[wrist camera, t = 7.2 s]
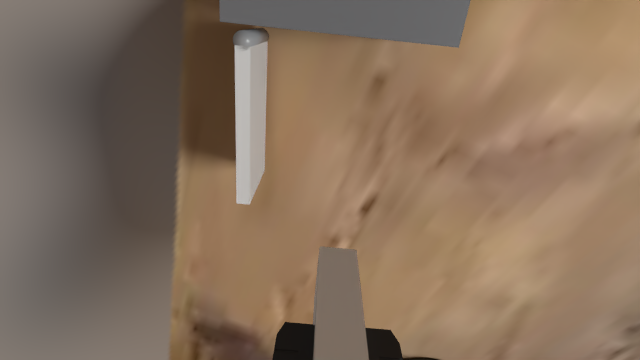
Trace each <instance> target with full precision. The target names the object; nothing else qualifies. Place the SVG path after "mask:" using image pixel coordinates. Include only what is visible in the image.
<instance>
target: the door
mask: <svg viewBox="0 0 640 360" xmlns="http://www.w3.org/2000/svg"><path fill="white" fill-rule="evenodd" d="M268 39H269V34H268V32H267V31H266V30H265V29H264V28H256V29H248V30H240V31H237V32H236V33H235V34H234V36H233V43H234V45H235V115H236V193H237V203H239V204H250V202H251V200H252V198H253V196H254V193H255V191H256V189H257V187H258V184H259V182H260V180H261V177H262V175H263V173H264V169H265V128H266V86H267V44H268Z"/></svg>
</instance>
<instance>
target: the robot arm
mask: <svg viewBox="0 0 640 360" xmlns="http://www.w3.org/2000/svg"><path fill="white" fill-rule="evenodd" d="M273 360H403V358H402V353H401V348H400V344H399V342H398V341H397V339H396V338H395V336H394V335H393V333H392V332H391V330H384V329H372V328H365V321H364V313H363V304H362V295H361V286H360V278H359V269H358V260H357V251H356V250H354V249H342V248H330V247H320V248H319V258H318V268H317V278H316V288H315V298H314V315H313V324H301V323H289V322H285V323H284V325H283V326H282V328H281V329H280V331H279V332H278V333H277V337H276V342H275V348H274V354H273ZM410 360H433V359H410Z"/></svg>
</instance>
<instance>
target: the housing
mask: <svg viewBox="0 0 640 360" xmlns="http://www.w3.org/2000/svg"><path fill="white" fill-rule="evenodd" d="M469 4H470V0H219V5H220V22H228V23H237V24H247V25H256V26H265V27H274V28H283V29H293V30H302V31H311V32H320V33H329V34H338V35H348V36H357V37H366V38H375V39H384V40H394V41H403V42H412V43H421V44H430V45H440V46H449V47H458V48H459V44H460V40H461V36H462V32H463V28H464V24H465V20H466V16H467V12H468V8H469Z"/></svg>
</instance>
